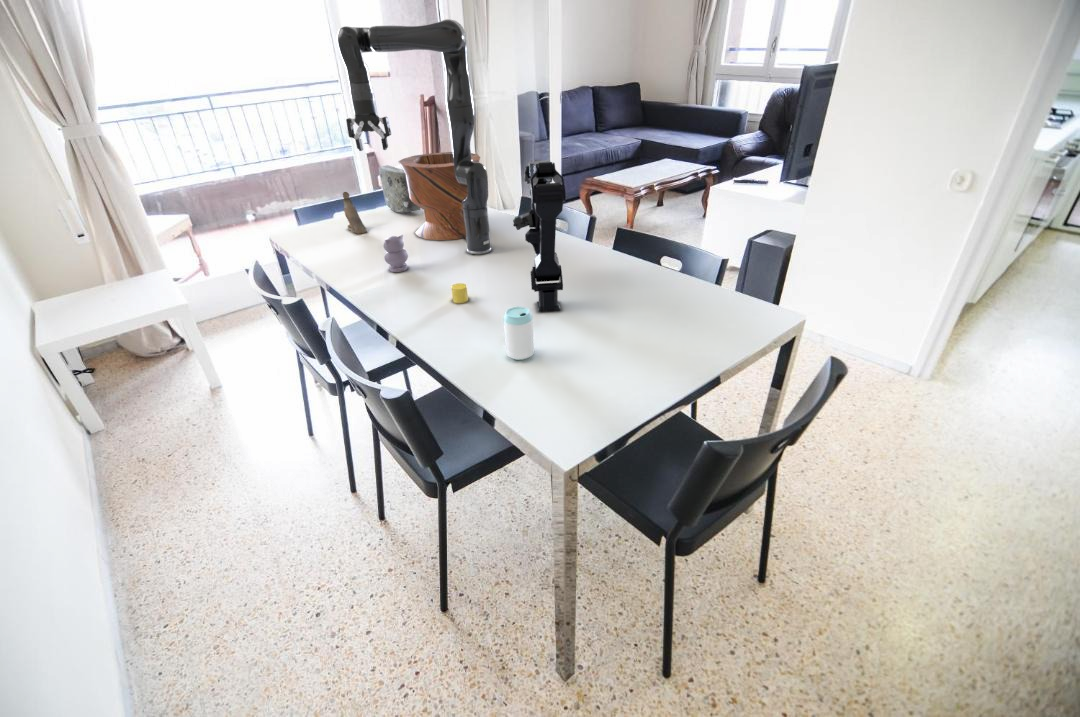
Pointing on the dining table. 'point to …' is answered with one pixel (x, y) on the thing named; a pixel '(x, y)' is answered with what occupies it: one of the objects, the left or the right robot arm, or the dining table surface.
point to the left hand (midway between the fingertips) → (373, 150)
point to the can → (519, 333)
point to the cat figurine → (395, 253)
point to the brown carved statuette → (352, 216)
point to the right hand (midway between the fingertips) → (542, 254)
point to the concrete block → (396, 189)
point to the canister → (459, 293)
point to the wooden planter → (437, 194)
